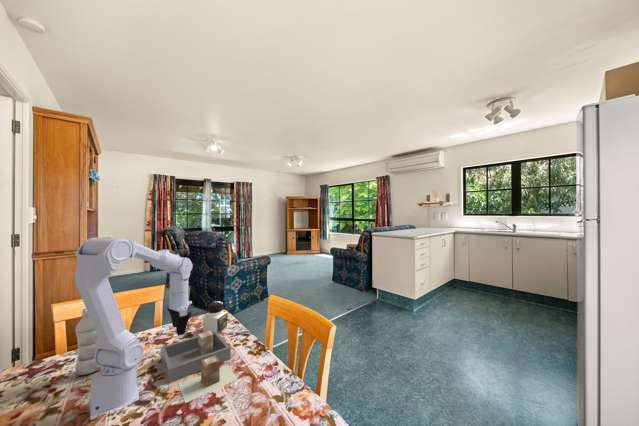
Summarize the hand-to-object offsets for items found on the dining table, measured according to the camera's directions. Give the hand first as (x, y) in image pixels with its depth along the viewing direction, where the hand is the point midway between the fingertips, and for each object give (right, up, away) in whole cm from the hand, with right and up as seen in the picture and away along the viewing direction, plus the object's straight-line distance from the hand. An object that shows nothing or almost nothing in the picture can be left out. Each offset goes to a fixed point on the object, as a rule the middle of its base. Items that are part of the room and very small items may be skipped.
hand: (178, 330), depth 83 cm
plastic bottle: (-24, -10, -8) cm, 27 cm away
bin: (+7, -9, -2) cm, 12 cm away
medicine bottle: (+4, -10, +19) cm, 22 cm away
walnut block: (+17, -9, -13) cm, 23 cm away
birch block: (+8, -9, +3) cm, 12 cm away
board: (+17, -9, -13) cm, 23 cm away
